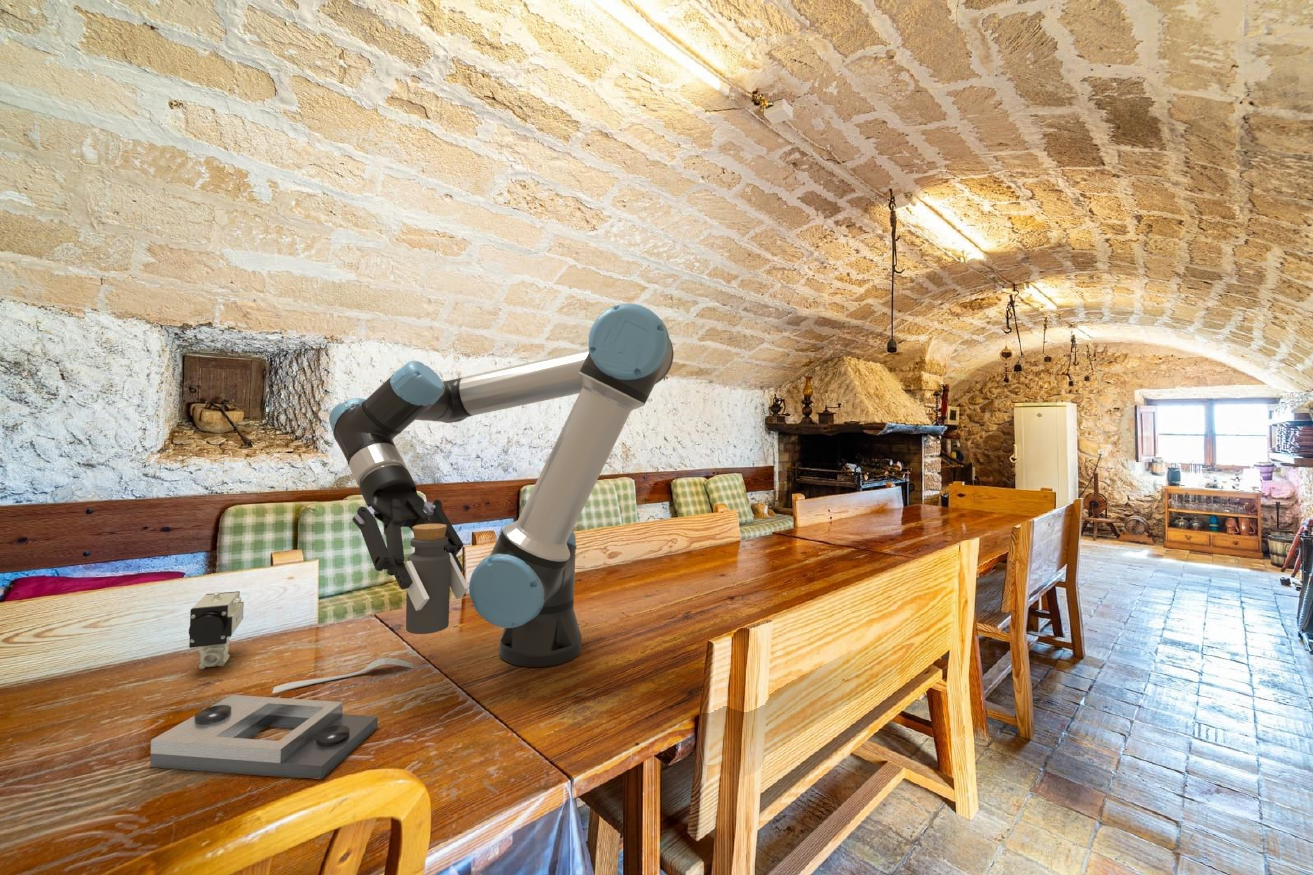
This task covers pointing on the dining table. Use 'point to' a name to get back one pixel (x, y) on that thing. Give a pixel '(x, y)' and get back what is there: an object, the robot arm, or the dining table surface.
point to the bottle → (430, 579)
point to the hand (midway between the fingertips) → (443, 598)
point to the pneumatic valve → (215, 626)
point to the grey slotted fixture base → (226, 745)
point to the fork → (313, 681)
